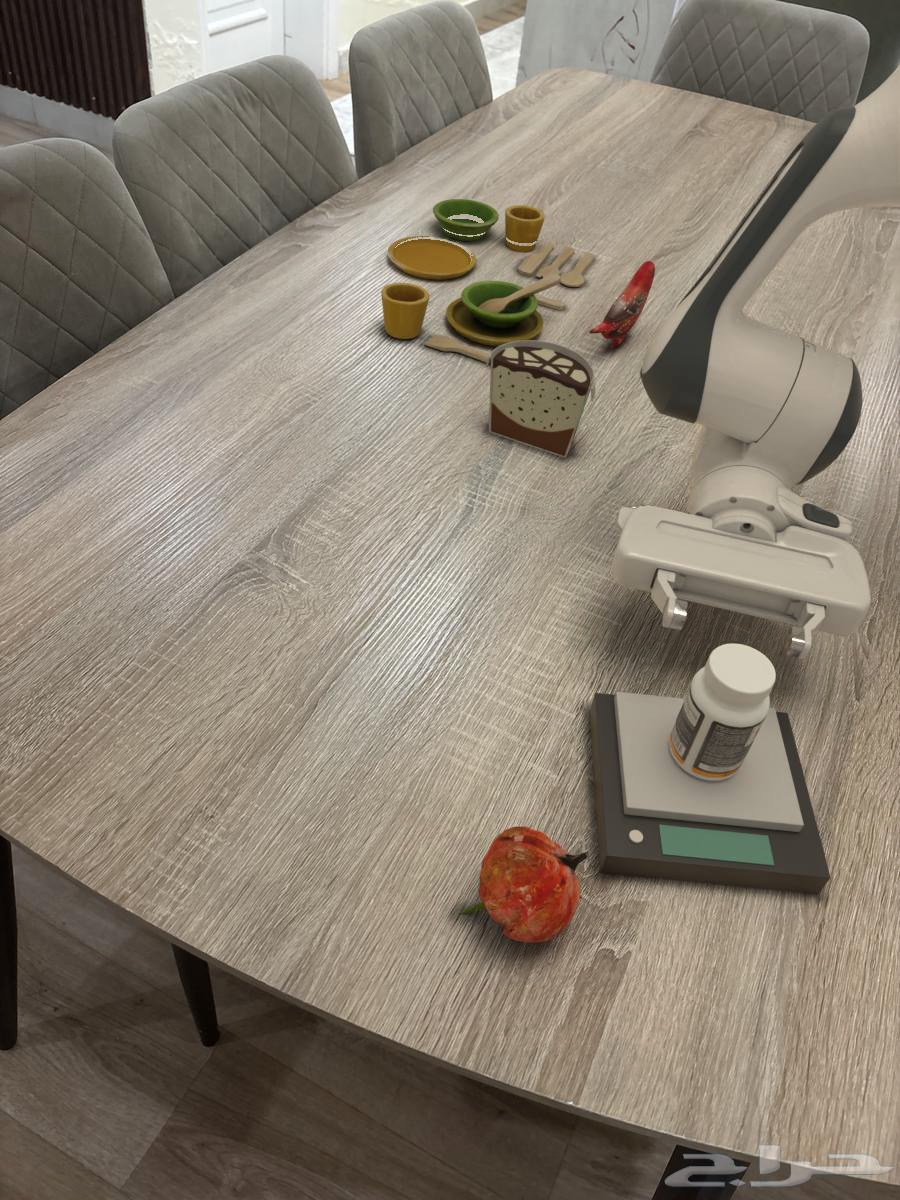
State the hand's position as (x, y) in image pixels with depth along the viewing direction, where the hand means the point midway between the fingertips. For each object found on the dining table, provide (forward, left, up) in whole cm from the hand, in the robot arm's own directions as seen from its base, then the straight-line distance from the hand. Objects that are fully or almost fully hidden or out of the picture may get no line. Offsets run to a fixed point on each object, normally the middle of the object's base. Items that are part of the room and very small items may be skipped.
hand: (735, 637), depth 71 cm
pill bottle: (+1, +6, -7) cm, 9 cm away
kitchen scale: (+1, +8, -10) cm, 13 cm away
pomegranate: (+15, +19, -11) cm, 26 cm away
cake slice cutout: (+13, -40, -11) cm, 44 cm away
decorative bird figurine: (+3, -61, -11) cm, 63 cm away
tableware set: (+22, -75, -11) cm, 79 cm away
